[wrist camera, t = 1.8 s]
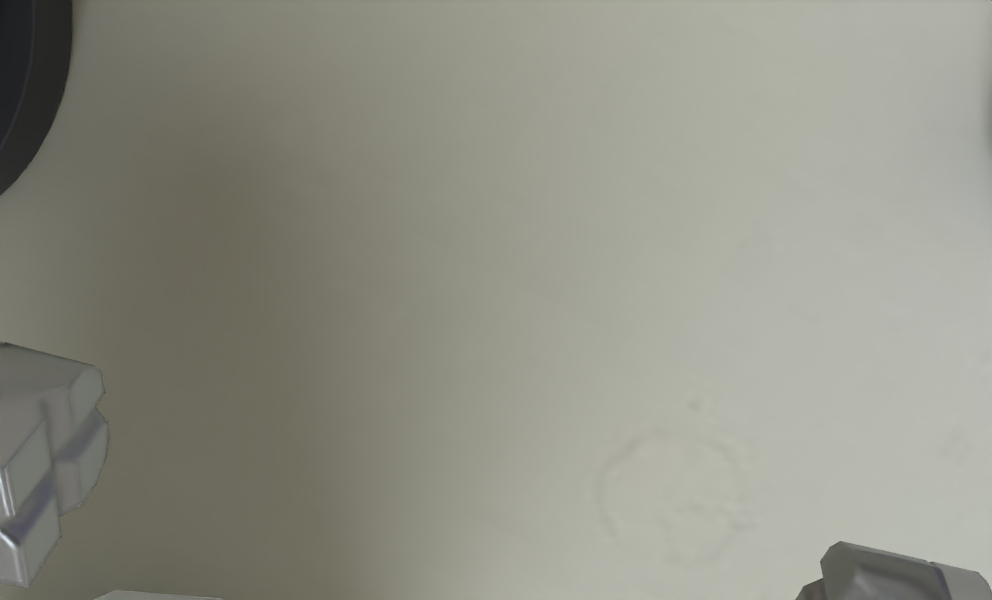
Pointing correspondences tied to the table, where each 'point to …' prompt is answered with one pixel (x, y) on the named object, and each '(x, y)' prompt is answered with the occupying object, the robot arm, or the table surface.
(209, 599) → the container
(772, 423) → the table surface
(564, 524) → the table surface
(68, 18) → the kettle
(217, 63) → the table surface
